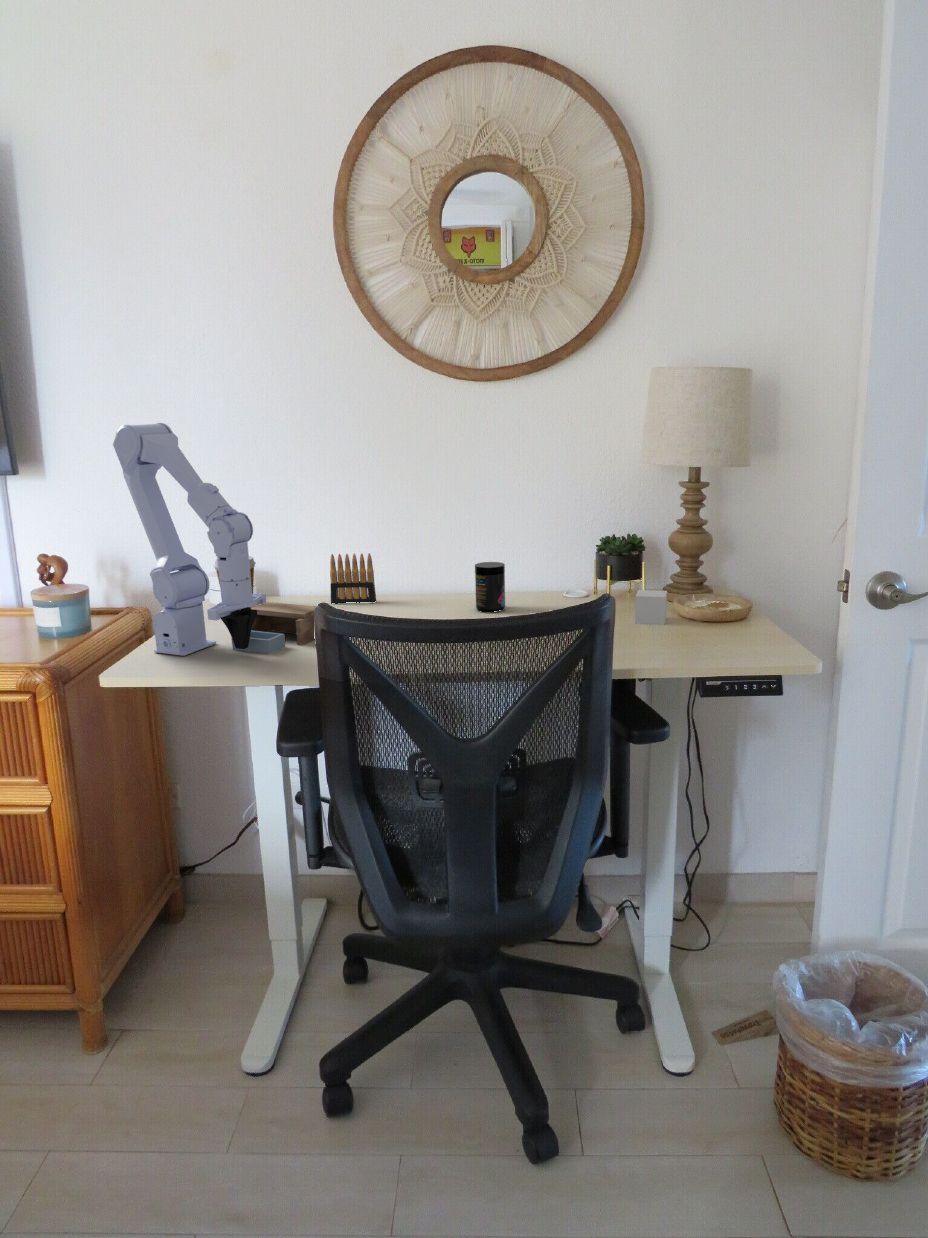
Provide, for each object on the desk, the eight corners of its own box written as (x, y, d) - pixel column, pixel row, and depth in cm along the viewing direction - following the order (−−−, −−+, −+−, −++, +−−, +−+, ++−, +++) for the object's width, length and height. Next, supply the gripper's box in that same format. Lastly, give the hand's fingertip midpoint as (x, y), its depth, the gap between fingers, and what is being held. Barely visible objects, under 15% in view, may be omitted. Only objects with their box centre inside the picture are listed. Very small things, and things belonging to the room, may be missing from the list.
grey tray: (269, 655, 166) (268, 640, 165) (232, 651, 170) (231, 636, 169) (285, 648, 170) (284, 633, 170) (249, 644, 174) (247, 630, 173)
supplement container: (497, 614, 190) (496, 568, 188) (470, 611, 194) (469, 566, 191) (510, 607, 196) (509, 562, 194) (484, 605, 199) (483, 561, 197)
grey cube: (664, 625, 178) (665, 597, 176) (634, 624, 180) (635, 596, 178) (666, 618, 183) (667, 590, 182) (637, 617, 185) (638, 589, 184)
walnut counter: (301, 645, 171) (299, 616, 169) (245, 638, 177) (242, 610, 175) (324, 635, 178) (322, 606, 176) (269, 629, 184) (267, 601, 182)
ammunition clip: (330, 604, 205) (327, 554, 202) (332, 602, 207) (328, 553, 204) (375, 603, 205) (372, 553, 202) (376, 601, 206) (373, 552, 203)
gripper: (226, 587, 154) (233, 660, 157) (276, 572, 166) (282, 639, 170) (195, 585, 157) (203, 656, 160) (247, 570, 169) (253, 636, 173)
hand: (241, 647), depth 165 cm, fingers closed
